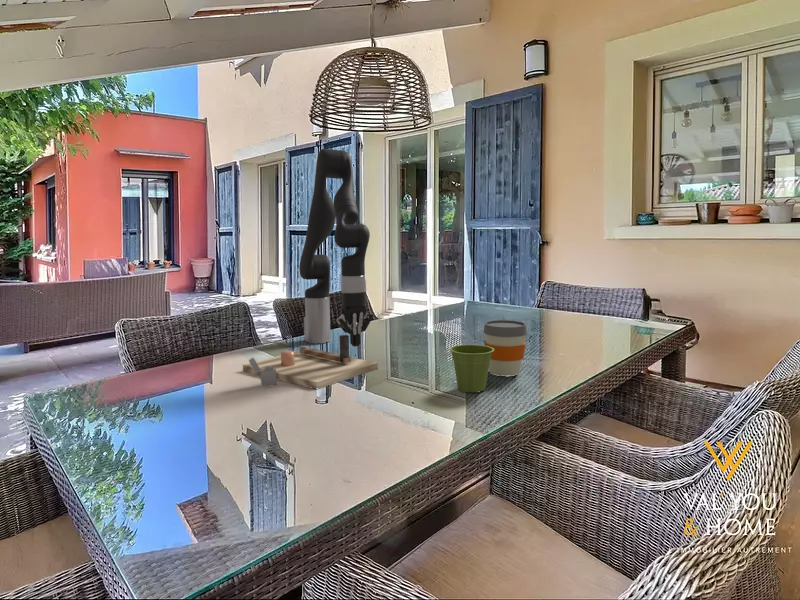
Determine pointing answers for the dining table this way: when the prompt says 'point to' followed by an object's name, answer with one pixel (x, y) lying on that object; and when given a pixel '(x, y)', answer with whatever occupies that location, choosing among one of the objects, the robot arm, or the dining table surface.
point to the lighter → (265, 373)
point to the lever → (341, 357)
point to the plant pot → (471, 366)
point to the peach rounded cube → (287, 358)
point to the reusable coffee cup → (505, 345)
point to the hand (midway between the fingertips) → (355, 345)
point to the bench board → (314, 369)
